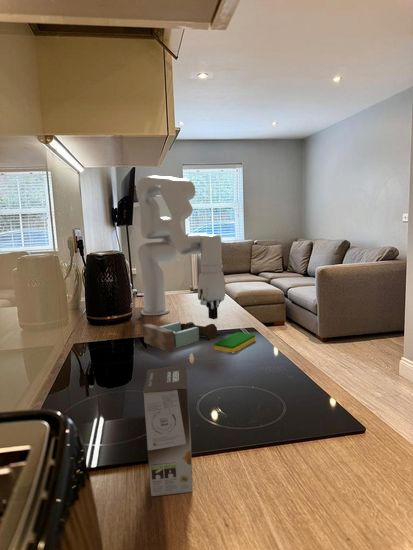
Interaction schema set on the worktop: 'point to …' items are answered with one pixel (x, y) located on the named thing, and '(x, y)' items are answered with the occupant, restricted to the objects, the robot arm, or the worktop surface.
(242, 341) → the dish sponge
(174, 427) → the coffee box
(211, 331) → the bolt
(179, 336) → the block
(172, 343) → the wooden plank
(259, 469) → the worktop surface
